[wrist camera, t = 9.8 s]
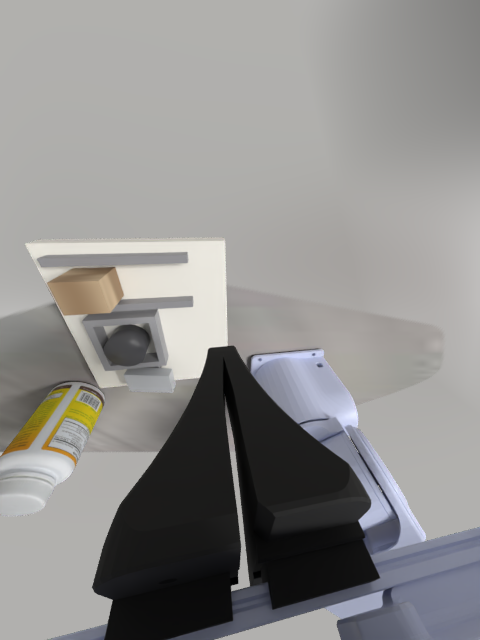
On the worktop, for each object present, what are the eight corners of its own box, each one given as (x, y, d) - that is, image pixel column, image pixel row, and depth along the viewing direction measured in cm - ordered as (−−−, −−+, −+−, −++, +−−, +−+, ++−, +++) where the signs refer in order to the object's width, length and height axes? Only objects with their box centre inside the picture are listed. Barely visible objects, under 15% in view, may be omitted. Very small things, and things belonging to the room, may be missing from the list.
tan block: (115, 267, 16) (98, 280, 13) (124, 295, 17) (110, 312, 14) (72, 268, 15) (46, 282, 13) (85, 297, 16) (63, 315, 14)
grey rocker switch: (172, 368, 20) (168, 376, 19) (175, 384, 21) (172, 392, 21) (128, 367, 20) (123, 374, 19) (134, 383, 21) (130, 391, 21)
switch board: (223, 237, 17) (226, 244, 15) (227, 365, 25) (229, 383, 23) (39, 239, 15) (8, 247, 13) (105, 377, 23) (94, 399, 21)
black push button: (146, 323, 18) (140, 336, 17) (153, 350, 20) (148, 364, 18) (107, 325, 18) (98, 339, 16) (118, 353, 19) (110, 368, 18)
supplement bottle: (51, 406, 24) (-33, 522, 16) (53, 374, 22) (-43, 490, 13) (103, 412, 26) (54, 519, 18) (110, 384, 24) (58, 491, 15)
